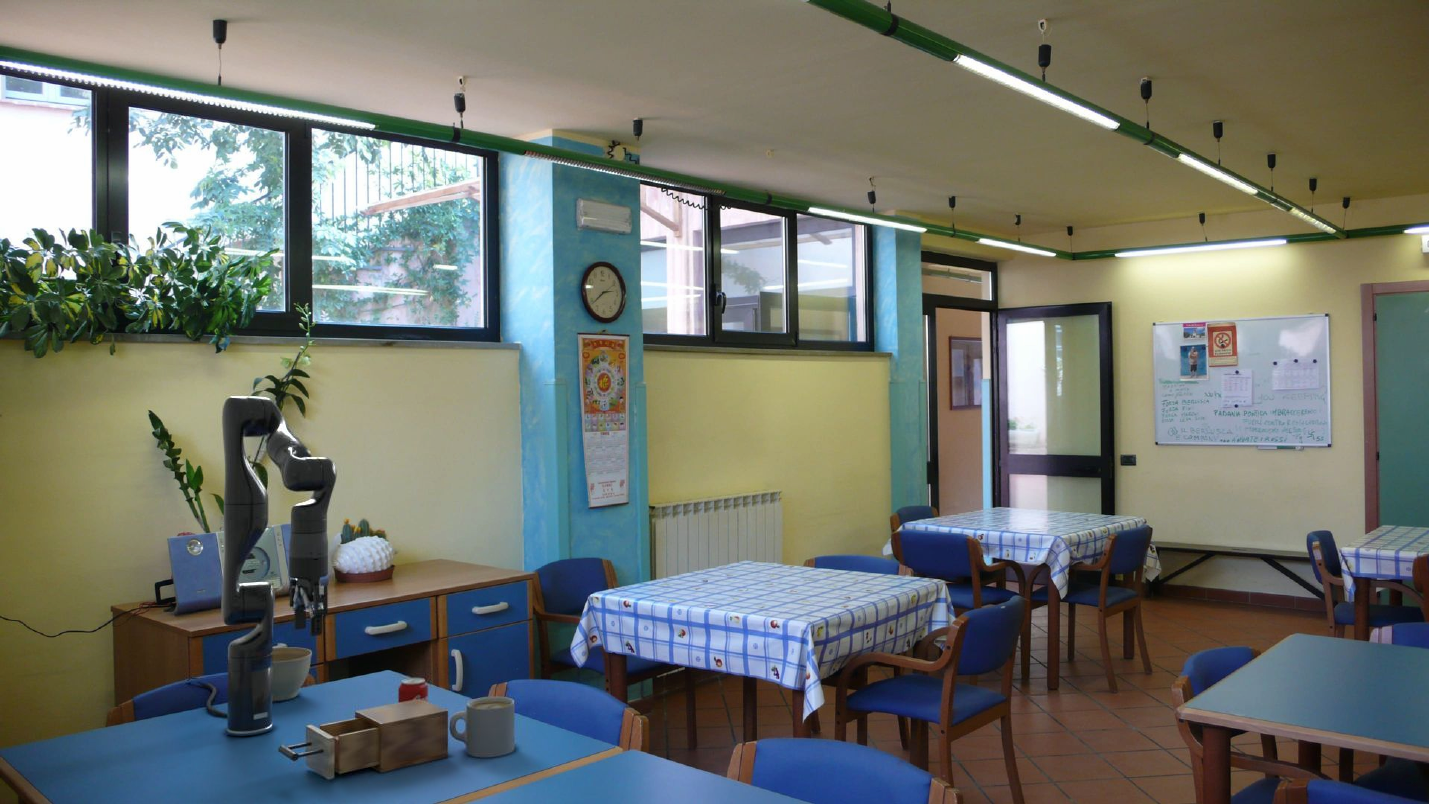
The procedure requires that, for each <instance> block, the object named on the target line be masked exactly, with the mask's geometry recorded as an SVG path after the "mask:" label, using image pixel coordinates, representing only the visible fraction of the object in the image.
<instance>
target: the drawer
mask: <svg viewBox="0 0 1429 804" xmlns="http://www.w3.org/2000/svg"><path fill="white" fill-rule="evenodd" d="M335 736H338V763H337V762H336V761H334V746H335ZM301 748H305V752H301V753H297V752H295V751H294V750H296V749H301ZM277 751H278V752H279V753H280V754H282V755H283V756H285V757H286V758H288V759H289V760H291V761H293V762H297V761H298V760H299V759H300V758H304V759H305V766H307V767H308V768H310V769H311V770H313V771H314V772H316V773H317V774H319V775H321V776H322V777H324V778H326V779H327V780H331V779H335V773H337V774H339V775H342V774H345V773H350V772H353V771H358V770H362V769H365V768H366V769H367V768H372V767H371V766H376V765H380V727H379V726H377V725H375V724H373V723H371V722H369V721H367V720H365V719H363V718H360V717H359V718H355V717H354V718H350V719H344V720H339V721H334V722H329V723H324V724H320V725H319V728H318V727H316V726H315V725H313V724H308V725H305V742H303V743H302V742H301V743H297V744H292V745H288V746H286V745H284V744H282V745H279V747H278V748H277Z"/></svg>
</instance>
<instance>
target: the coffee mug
mask: <svg viewBox="0 0 1429 804" xmlns="http://www.w3.org/2000/svg"><path fill="white" fill-rule="evenodd" d="M459 720H463V721H464V723H465V728H464V731H463V732H458V730H457V728H456V727H457V726H456V725H457V722H458V721H459ZM448 729H449V733H450V735H451V737H452V738H453V739H455V740H457V741H459V742H462V743H463V744H464V745H465V748H466V754H467V755H469V756H471V757H475V758H497V757H503V756H506V755H509V754H511V753H512V752H514V751H515V700H514V699H513V698H510V697H507V696H483V697H478V698H474V699H471V700H469V701H468V702H467V703H466V710H461V711H457V712H454V713H453V715H452V716H451V717H450V720H449V726H448Z"/></svg>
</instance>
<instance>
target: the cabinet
mask: <svg viewBox="0 0 1429 804" xmlns="http://www.w3.org/2000/svg"><path fill="white" fill-rule="evenodd" d="M359 717H360V718H363V719H365V720H367V721H369V722H371V723H373V724H375V725H377V726H379V727H380V765H376V766H371V767H370V768H372V769H374V770H376V771H378V772H380V773H385V772H389V771H393V770H397V769H398V770H399V769H402V768H406V767H411V766H414V765H419V764H424V763H427V762H431V761H436V760H440V759H444V758H445V759H446V758H448V757H449V710H448V709H446V708H443V707H440V706H438V705H436V704H434V703H431V702H429V701H428V702H427V701H424V700H422V699H416V700H410V701H405V702H400V703H398V702H395V703H391V704H384V705H379V706H375V707H370V708H364V709H359V710H355V711H354V718H359Z"/></svg>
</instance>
